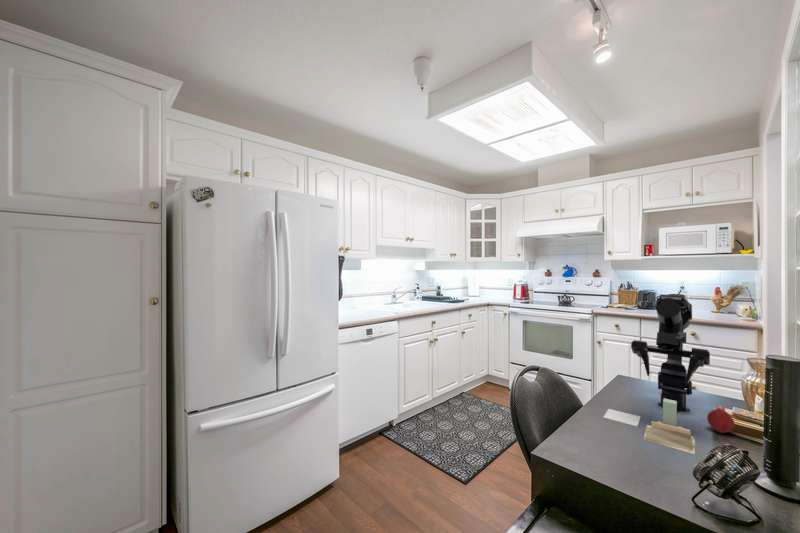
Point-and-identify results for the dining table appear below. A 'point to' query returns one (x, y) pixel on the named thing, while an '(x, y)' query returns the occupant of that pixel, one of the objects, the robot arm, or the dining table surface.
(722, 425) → the onion
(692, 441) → the offcut rack
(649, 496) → the dining table surface
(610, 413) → the mat
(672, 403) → the pale green rectangular block
